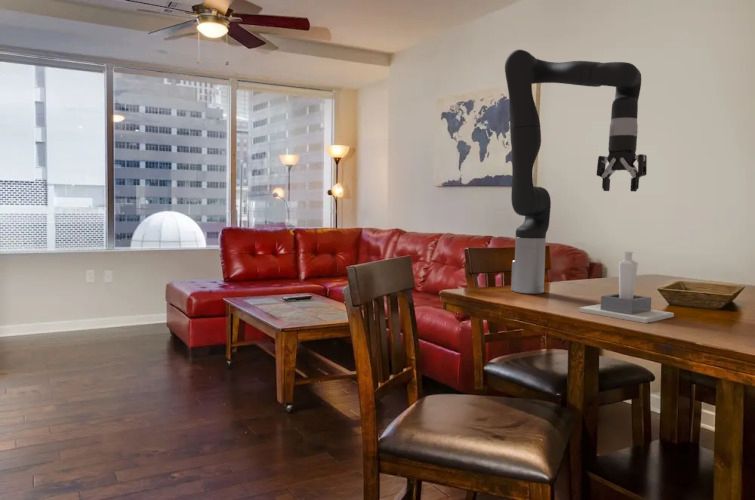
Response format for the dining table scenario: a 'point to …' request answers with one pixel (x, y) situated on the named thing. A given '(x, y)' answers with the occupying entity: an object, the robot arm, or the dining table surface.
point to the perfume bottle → (627, 276)
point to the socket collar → (626, 304)
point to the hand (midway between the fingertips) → (619, 191)
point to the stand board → (639, 317)
